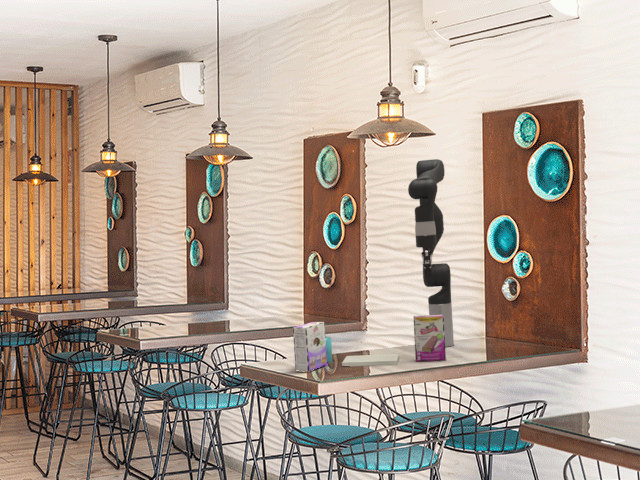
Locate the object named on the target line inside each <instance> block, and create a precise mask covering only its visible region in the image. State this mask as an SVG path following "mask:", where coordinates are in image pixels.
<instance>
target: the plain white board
mask: <svg viewBox="0 0 640 480" xmlns="http://www.w3.org/2000/svg"><path fill="white" fill-rule="evenodd" d="M399 361H400V354H399V353H393V354H391V353H390V354H368V355H366V354H365V355H361V354H360V355H346V357H345V358H344V359H343V361H342V362H341V367H342V366H350V367H369V366H370V367H374V366H376V365H377V366H378V367H379V366H396V365H397V366H398V363H399ZM377 366H376V367H377Z"/></svg>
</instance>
